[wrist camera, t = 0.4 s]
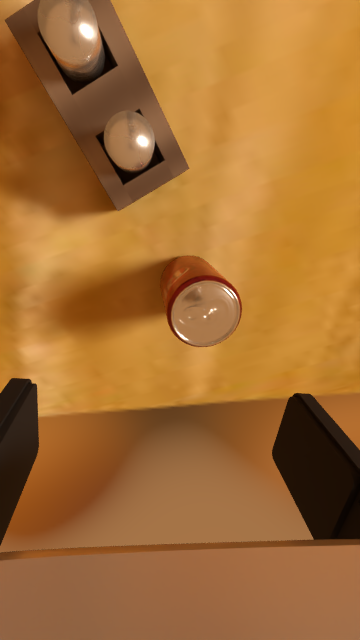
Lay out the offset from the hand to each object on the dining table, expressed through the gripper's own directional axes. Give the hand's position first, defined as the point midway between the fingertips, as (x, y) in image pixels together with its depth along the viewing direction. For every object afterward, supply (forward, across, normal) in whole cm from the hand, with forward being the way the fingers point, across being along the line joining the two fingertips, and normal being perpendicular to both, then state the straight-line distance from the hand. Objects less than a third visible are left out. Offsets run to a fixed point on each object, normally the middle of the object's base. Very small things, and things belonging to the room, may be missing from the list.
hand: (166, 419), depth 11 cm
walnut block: (+29, +5, -15) cm, 33 cm away
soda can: (+29, -5, +2) cm, 30 cm away
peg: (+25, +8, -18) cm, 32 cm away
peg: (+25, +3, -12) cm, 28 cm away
